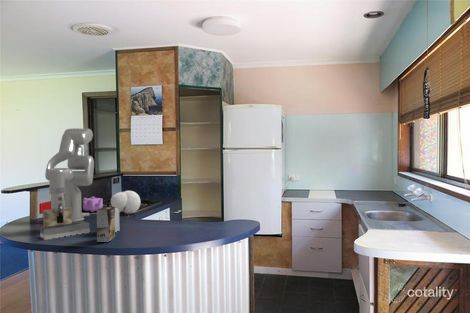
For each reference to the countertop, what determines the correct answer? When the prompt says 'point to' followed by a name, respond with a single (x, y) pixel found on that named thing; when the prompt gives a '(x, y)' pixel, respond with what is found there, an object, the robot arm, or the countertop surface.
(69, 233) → the door track
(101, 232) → the coffee box
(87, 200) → the purple lumpy block
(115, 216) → the supplement box
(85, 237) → the countertop surface
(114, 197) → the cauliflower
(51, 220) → the door panel
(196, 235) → the countertop surface
